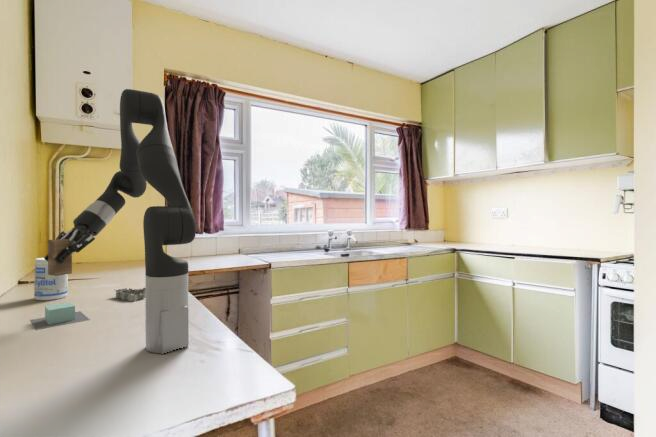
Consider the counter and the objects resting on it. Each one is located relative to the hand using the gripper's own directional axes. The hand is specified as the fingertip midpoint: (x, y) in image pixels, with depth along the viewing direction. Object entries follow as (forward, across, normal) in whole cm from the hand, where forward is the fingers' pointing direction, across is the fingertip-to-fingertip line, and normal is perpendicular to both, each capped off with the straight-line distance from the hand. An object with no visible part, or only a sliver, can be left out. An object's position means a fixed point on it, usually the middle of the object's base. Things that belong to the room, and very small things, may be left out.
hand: (52, 261), depth 96 cm
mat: (+11, 0, +14) cm, 18 cm away
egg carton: (-7, -5, +33) cm, 34 cm away
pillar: (+1, 0, +4) cm, 5 cm away
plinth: (+11, 0, +14) cm, 18 cm away
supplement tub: (+1, -32, +24) cm, 40 cm away
